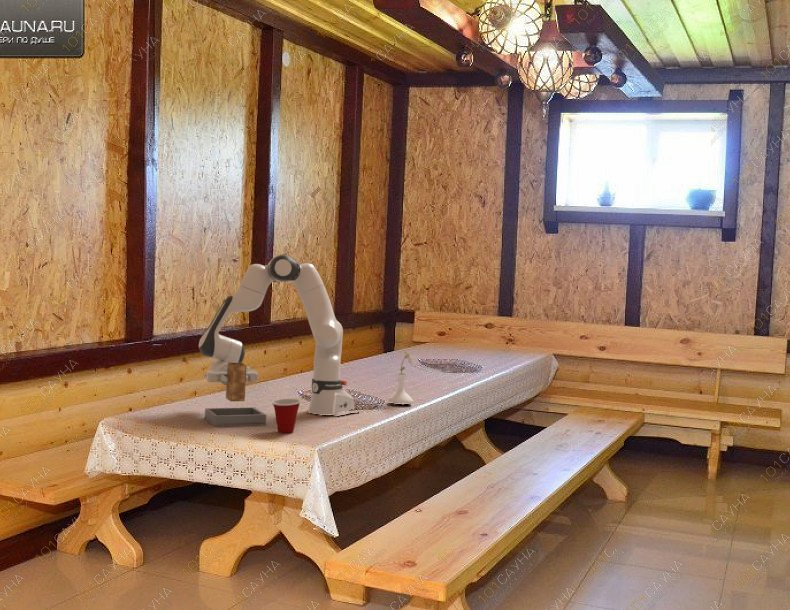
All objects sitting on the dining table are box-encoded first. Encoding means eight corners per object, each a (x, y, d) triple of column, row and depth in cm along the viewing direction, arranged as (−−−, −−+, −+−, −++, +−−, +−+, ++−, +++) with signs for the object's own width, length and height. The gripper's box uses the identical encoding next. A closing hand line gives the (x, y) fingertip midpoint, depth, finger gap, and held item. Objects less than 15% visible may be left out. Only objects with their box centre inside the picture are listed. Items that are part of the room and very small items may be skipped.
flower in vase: (410, 407, 456) (413, 351, 454) (384, 405, 458) (387, 349, 456) (415, 403, 469) (418, 348, 467) (390, 400, 471) (393, 346, 469)
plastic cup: (267, 429, 394) (268, 398, 393) (295, 428, 398) (296, 397, 397) (274, 435, 384) (275, 403, 383) (302, 434, 388) (304, 402, 387)
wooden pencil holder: (239, 398, 409) (241, 362, 408) (244, 401, 402) (246, 365, 401) (225, 398, 406) (227, 362, 405) (230, 401, 400) (232, 365, 399)
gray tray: (254, 417, 416) (254, 407, 416) (265, 425, 402) (266, 414, 401) (204, 418, 408) (205, 408, 408) (214, 426, 394) (215, 416, 393)
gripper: (202, 366, 411) (210, 371, 398) (252, 366, 419) (262, 371, 407) (201, 382, 412) (210, 388, 399) (251, 381, 420) (261, 387, 407)
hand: (236, 379), depth 403 cm, fingers closed on wooden pencil holder, 6 cm apart
